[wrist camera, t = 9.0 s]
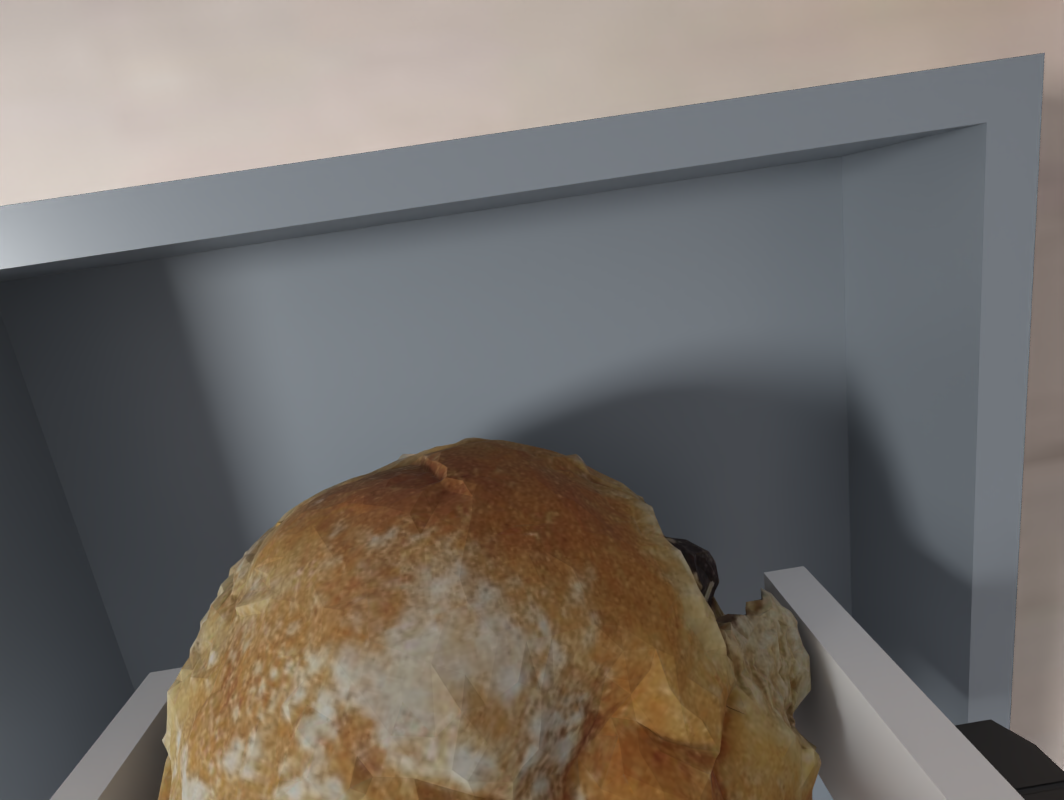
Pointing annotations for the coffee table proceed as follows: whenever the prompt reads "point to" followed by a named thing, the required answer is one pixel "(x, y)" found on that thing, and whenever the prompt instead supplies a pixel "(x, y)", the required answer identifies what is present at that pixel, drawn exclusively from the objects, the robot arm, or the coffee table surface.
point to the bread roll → (485, 650)
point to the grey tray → (536, 367)
